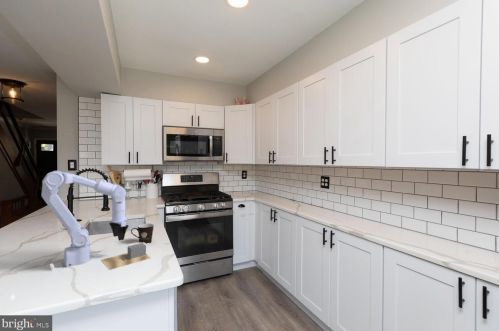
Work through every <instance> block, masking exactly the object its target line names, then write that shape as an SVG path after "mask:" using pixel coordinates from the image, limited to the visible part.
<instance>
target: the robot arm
mask: <svg viewBox="0 0 499 331" xmlns="http://www.w3.org/2000/svg"><path fill="white" fill-rule="evenodd" d="M41 182H42V187H41V198H42V199H43V200H44V202H45V203H46V205H48V207H49V208H50V210H51V211H52V212H53V214H54V215H55V216H56V218H57V219H58V221H59V222H60V223H61V224H62V225H63V227H64V229H65V230H66V231H67V234H68V236H69V237H70V240H71V244H70V245H69V246H68V247H65V248H64V252H63V253H64V255H63V257H64V261H63V265H64V266H65V267H66V268H71V267H73V266H80V265H84V264H87V263H89V262H90V261H91V242H90V241H89V239H90V237H89V236H90V232H89V230H88V229H87V228H85V227H83V225H82V224H80V223H79V221H78V220H77V219H76V217H75V216H74V215H73V214H72V212H71V211H70V209H69V208H68V207H67V205H66V204H65V203H64V201H63V200H62V198H61V197H60V196H59V194H58V192H59V190H60V188H61V186H62V185H63V184H65V185H67V184H76V185H77V184H78V185H81V186H85V187H88V188H92V189H93V190H94V192H96V193H99V194H102V195H106V196H112V202H111V222H109V223H108V224H109V226H110V228H111V230H112V235H113V237H114V238H116V237H117V240H118V241H124V240H125V235H126V232H127V230H128V229H129V225H128V224H127V222H126V221H128V217H126V196H127V190H126V189H125V188H124V187H123V186H121V185H118V184H117V183H110V182H108V181H107V180H105V179H104V180H102V179H100V180H97V181H96V180H92V179H90V178H87V177H84V176H80V175H77V174H74V173H72V172H71V173H70V172H65V171H64V172H63V171H61V170H53V171H50V172H48V173H47V174H46V175H45V176H44V178H43V179H42V181H41Z"/></svg>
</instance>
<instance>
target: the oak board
mask: <svg viewBox="0 0 499 331" xmlns="http://www.w3.org/2000/svg"><path fill="white" fill-rule="evenodd" d="M127 255H128V252H126V253H123V254H118V255H114V256H110V257H107V258H103V259H102V258H101V259H100V261H101V263H102V264H103V265H104V266H105V267H106V269H107V270H109V271H110V270H114V269H119V268H122V267H124V266H129V265H131V264H132V265H133V264H135V263H136V264H137V263H139V262H143V261H145V260H149V259H152V257H151V256H149V255H148V254H147V253H146V256H142V257H138V258H135V259H130V258H128V257H127Z"/></svg>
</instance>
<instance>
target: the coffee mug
mask: <svg viewBox="0 0 499 331" xmlns="http://www.w3.org/2000/svg"><path fill="white" fill-rule="evenodd" d="M154 227H155V226H154V224H153V223H141V224H139V225H137V227H133V228H131V229H130V233H131V235H133V236H134V237H135V238H137V239H138V240H139V241H138V242H139V243H144V244H145V245H148V244H147V243H149V244H151V243H152V241H153V232H154ZM133 230H136V231H137V233H138V236H137V235H136V234H134V233H133Z"/></svg>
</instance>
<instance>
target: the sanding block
mask: <svg viewBox="0 0 499 331" xmlns="http://www.w3.org/2000/svg"><path fill="white" fill-rule="evenodd" d="M127 253H128V255H127V257H128V258H130V259H135V258H138V257H142V256H146V254H147V244H146V243H144V242H139V243H135V244H133V245H128V246H127Z"/></svg>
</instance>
